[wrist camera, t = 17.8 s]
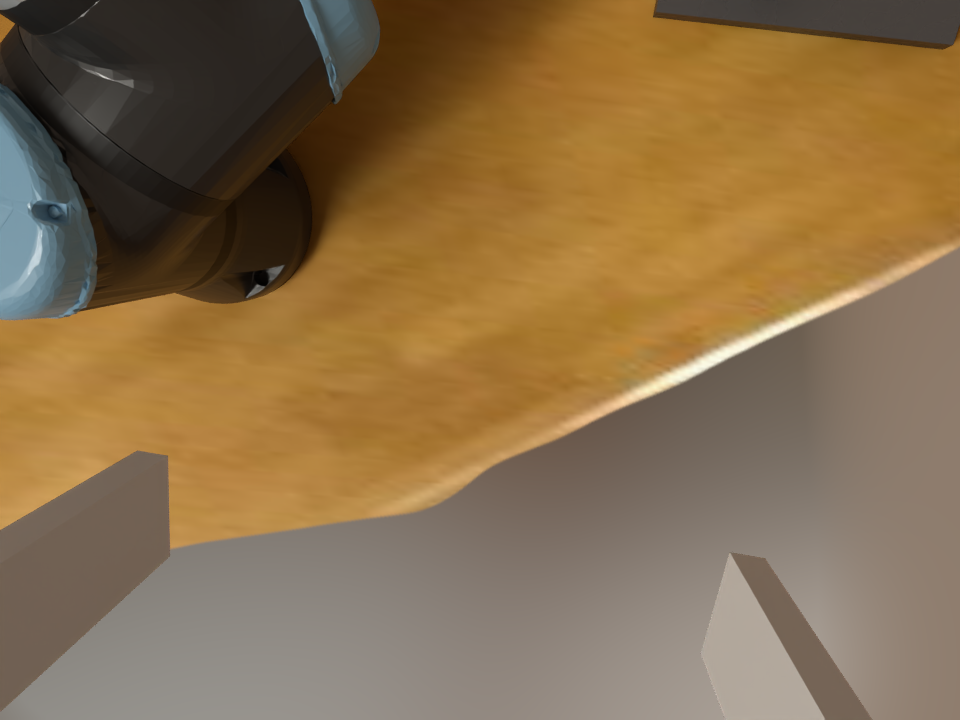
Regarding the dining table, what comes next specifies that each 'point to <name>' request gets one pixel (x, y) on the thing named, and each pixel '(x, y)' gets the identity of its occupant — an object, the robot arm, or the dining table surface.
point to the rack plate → (830, 18)
